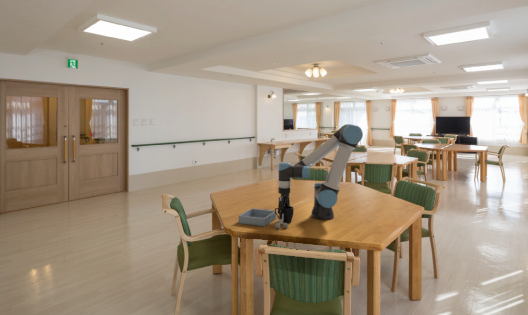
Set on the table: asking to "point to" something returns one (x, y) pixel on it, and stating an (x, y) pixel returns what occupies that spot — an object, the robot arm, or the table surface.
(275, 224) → the pebble
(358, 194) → the table surface
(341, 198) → the table surface
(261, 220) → the bin
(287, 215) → the mug
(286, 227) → the pebble
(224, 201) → the table surface
